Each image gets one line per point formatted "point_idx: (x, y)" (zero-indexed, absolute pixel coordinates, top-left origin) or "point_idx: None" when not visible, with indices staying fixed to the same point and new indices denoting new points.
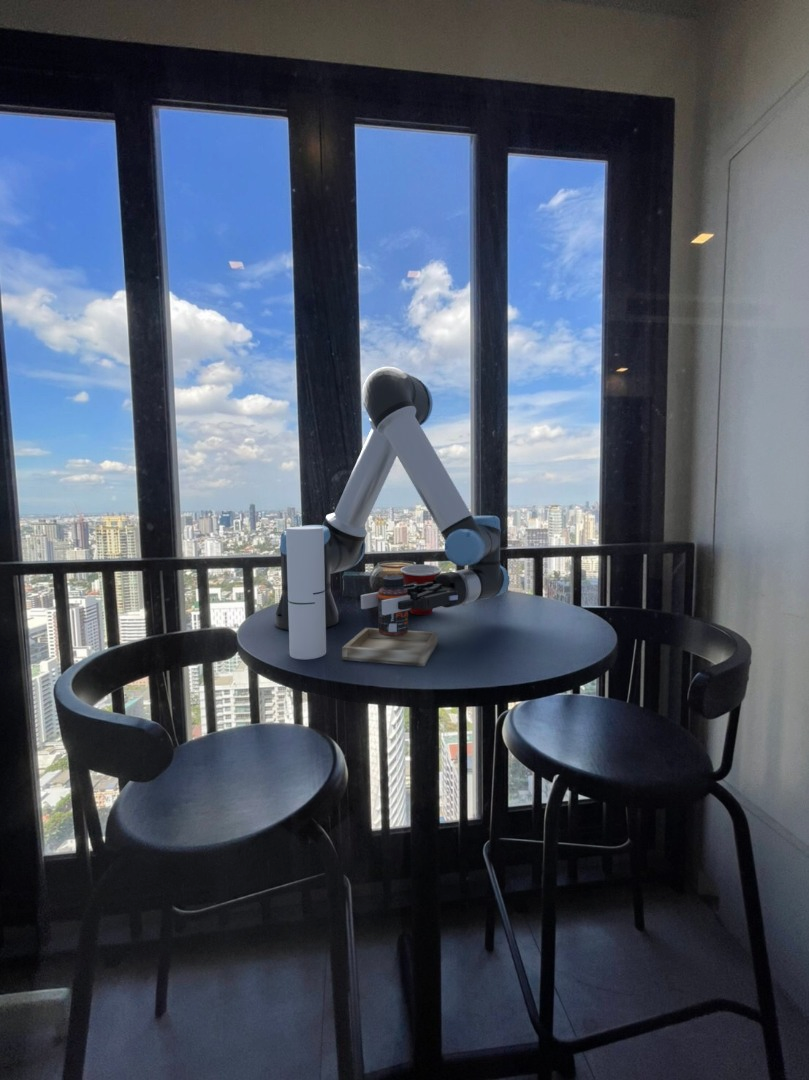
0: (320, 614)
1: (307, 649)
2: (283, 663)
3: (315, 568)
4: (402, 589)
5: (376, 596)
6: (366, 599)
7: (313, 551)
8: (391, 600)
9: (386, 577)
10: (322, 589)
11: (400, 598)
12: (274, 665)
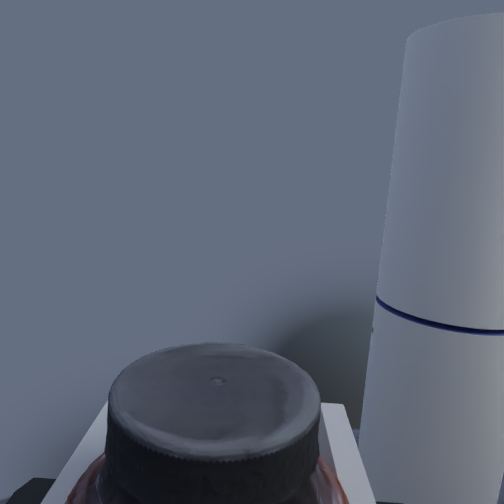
0: (376, 388)
1: None
2: (357, 445)
3: (390, 204)
4: (89, 489)
5: None
6: (321, 443)
7: (396, 134)
8: (95, 424)
9: (260, 361)
10: (399, 303)
11: (60, 480)
12: (354, 430)
